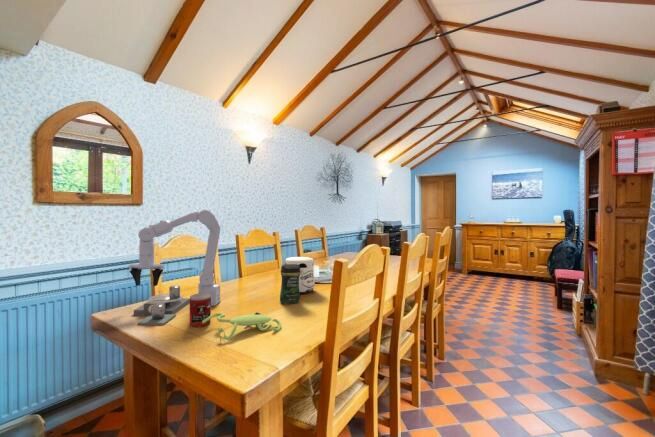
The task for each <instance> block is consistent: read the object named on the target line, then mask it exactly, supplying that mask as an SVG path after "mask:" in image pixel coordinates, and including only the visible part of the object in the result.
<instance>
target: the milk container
mask: <svg viewBox="0 0 655 437" xmlns="http://www.w3.org/2000/svg"><path fill="white" fill-rule="evenodd" d="M285 264H298V265H299V266H300V272H301V273H300V276H299V293H300V294H307V293H310V292H312V291H314V289H315V284H316V281H315V280H316V279H315V276H314V268H315V266H314V259H313V258H312V257H308V256H292V257H291V256H290V257H287V258H285V263H284V265H285Z"/></svg>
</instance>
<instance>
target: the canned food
mask: <svg viewBox="0 0 655 437" xmlns="http://www.w3.org/2000/svg"><path fill="white" fill-rule="evenodd" d="M189 298H190V303H189V326H191V327H193V328H203V327H206V326H208V325H209V324H211V319H212V318H211V319H210V320H208V321H207V322H205V323H202V321H203V320H204V319H206V318H208V317H209V316H210V315H212V314H211V311H212V310H211V308H212V306H211V295H210V294H207V293H199V294H198V293H194V294H192V295H190V296H189Z"/></svg>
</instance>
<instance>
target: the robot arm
mask: <svg viewBox="0 0 655 437" xmlns="http://www.w3.org/2000/svg"><path fill="white" fill-rule="evenodd" d="M198 221H199V223H201V224H203V225H204V226H205V227H206V228H207V230H208V231H209V234H208V239H207V245H206V250H205V256H204V262H203V265H202V269H201V271H200V273H199V283H198V285H197V286H198V289H197V290H198V291H197V292H198V293H197V294H199V293H207V294H210V295H211V307H215V306H217V305H218V304H219V303H220V302H221V287H220V284H216V283H215V276H214V268H215V260H216V256H217V251H218V250H217V249H218V245H219V239H220V235H221V234H220V233H221V227H220V225H219V222H218V220H217V218H216V216H215V215H214V214H213V213H212V211H210V210H208V209H203V210H201V211H195V212H190V213H188V214H186V215H182V216H180V217H178V218H175V219H174V220H171V221H170V220H168V219H165V220H164V219H161V220H160V221H159V222H157V223H155V224H149V225H148V227H143V228H141V229H140V230H139V231H138V238H139V246H138V247H139V248H138V250H139V251H138V260H139V262H138V263H135V264H134V263H132V264H129V265H128V270H129V273H130V274H131V276H132V278H133V280H134V284H135V286H136V287H139V286H141V275H142V271H143V270H151V273H152V278H153V279H152V280H153V282H152V284H153V287H156V286H158V284H159V280H160V277H161V275H162V274H163V272H164V270H165V264H158V263H155V243H154V242H155V240H154V238H160V237H162V236H164V235H166V234H167V235H168V233H172V232H173V229H174V228H177V227H179V226H182V225H185V224H187V223H190V222H191V223H194V222H195V223H198Z"/></svg>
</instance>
